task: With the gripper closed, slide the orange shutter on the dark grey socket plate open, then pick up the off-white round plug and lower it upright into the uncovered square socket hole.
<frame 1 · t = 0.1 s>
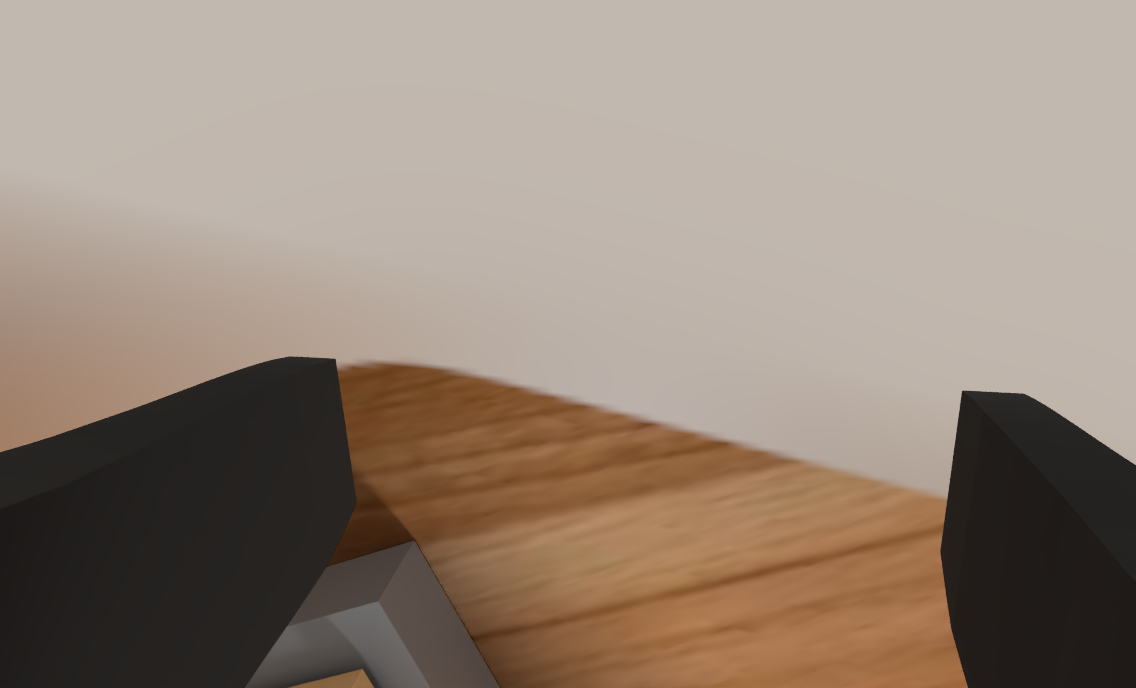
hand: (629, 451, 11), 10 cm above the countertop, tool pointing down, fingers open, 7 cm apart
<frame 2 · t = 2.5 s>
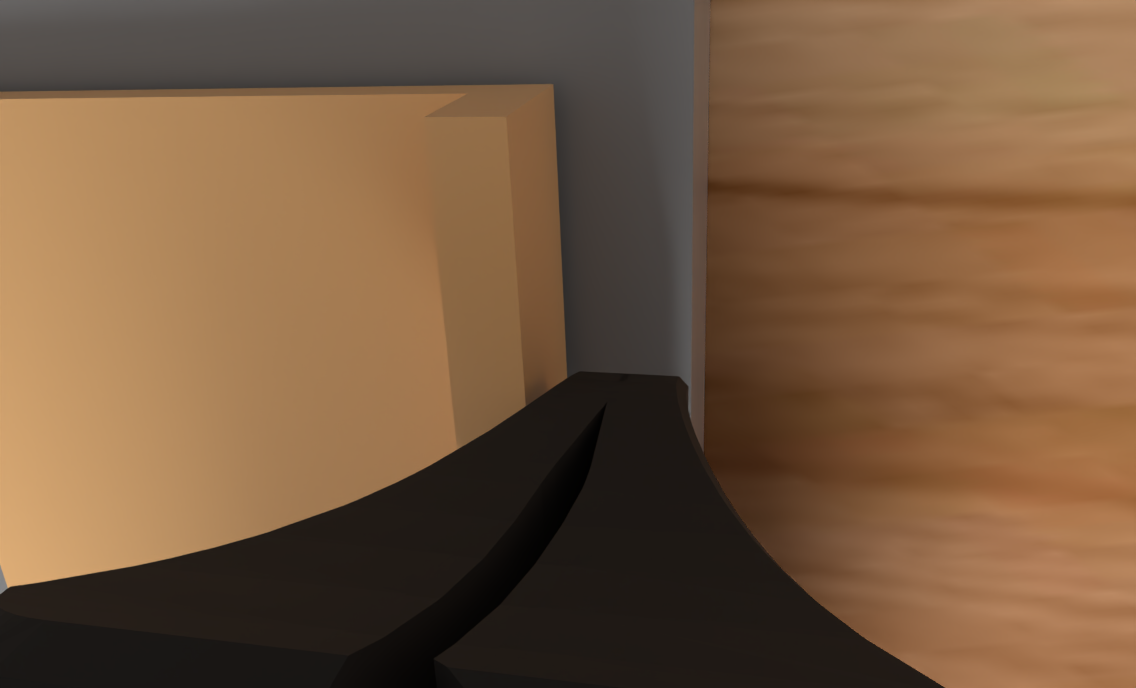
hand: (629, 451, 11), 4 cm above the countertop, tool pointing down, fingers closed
socket plate: (333, 314, 16), on the countertop
shutter: (212, 424, 12), point 4 cm above the countertop, slide at 0.3 cm, touching gripper
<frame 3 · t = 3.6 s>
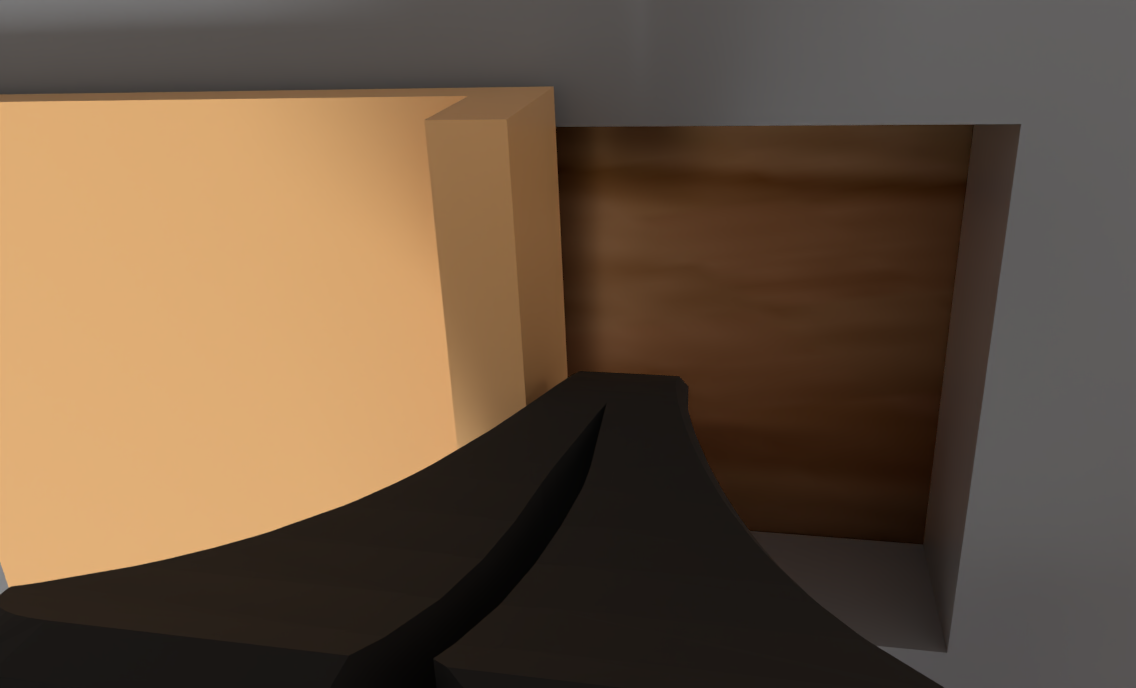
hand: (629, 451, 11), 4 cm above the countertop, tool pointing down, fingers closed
socket plate: (700, 329, 14), on the countertop
shutter: (213, 426, 12), point 4 cm above the countertop, slide at 6.3 cm, touching gripper
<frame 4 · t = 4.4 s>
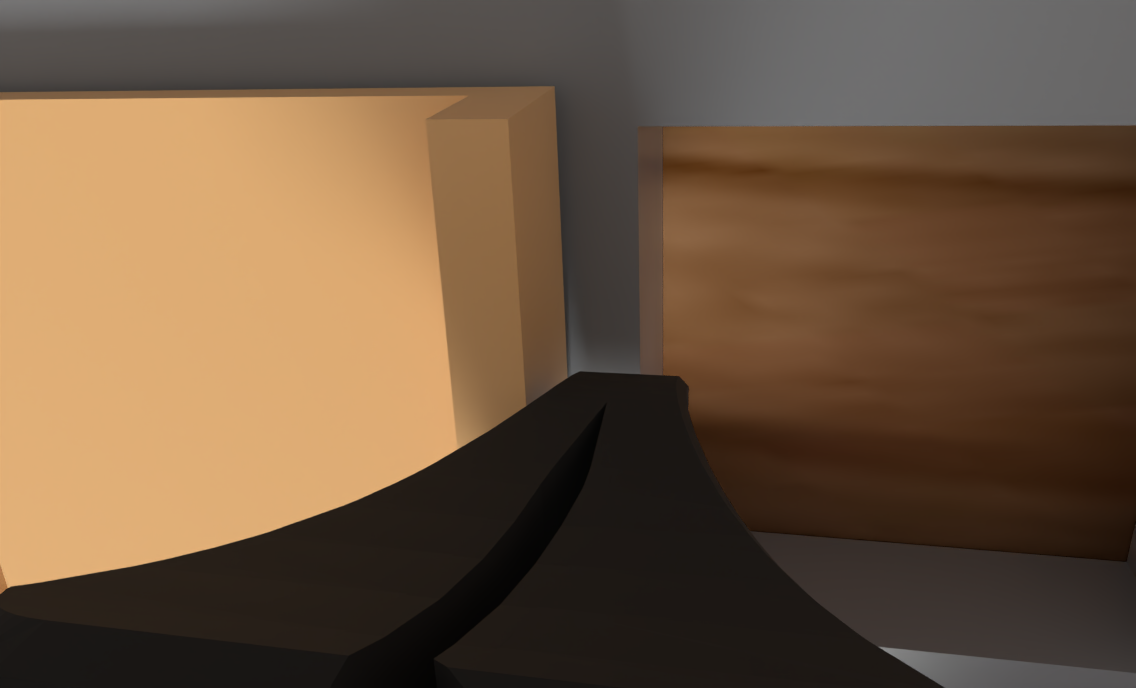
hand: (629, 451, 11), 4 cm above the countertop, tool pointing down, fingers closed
socket plate: (905, 338, 14), on the countertop
shutter: (213, 424, 12), point 4 cm above the countertop, slide at 9.2 cm, touching gripper
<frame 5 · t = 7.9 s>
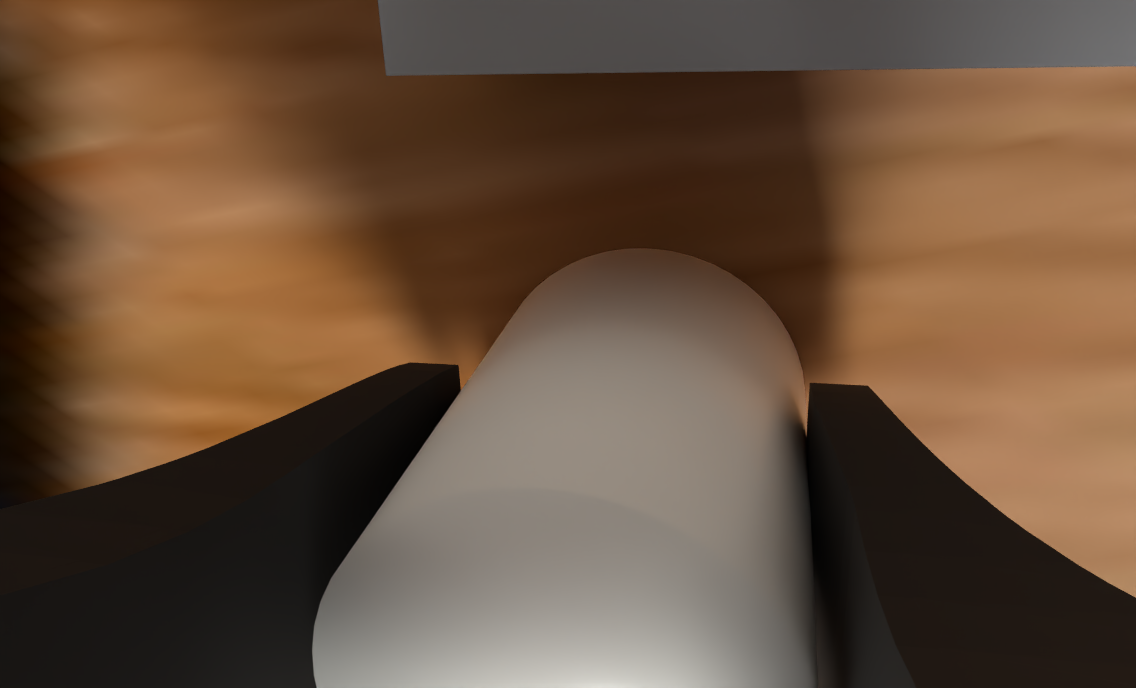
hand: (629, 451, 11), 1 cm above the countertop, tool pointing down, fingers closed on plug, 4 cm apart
plug: (645, 396, 12), on the countertop, touching gripper
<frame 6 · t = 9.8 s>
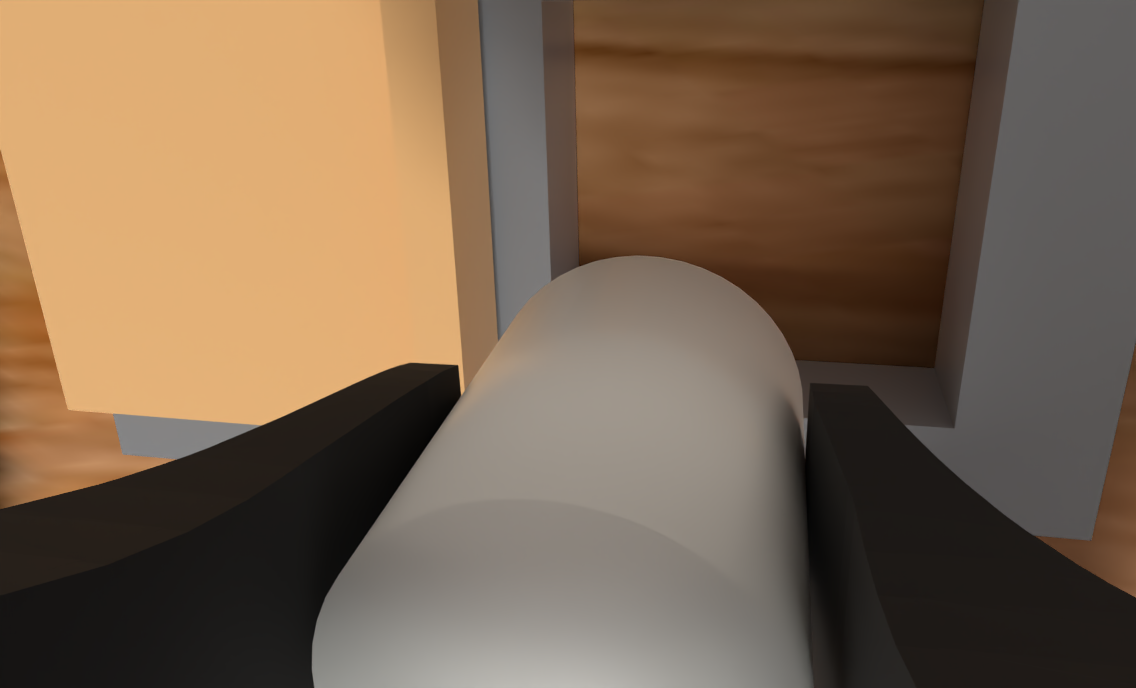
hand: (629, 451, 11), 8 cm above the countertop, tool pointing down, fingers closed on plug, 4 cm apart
plug: (643, 403, 12), point 7 cm above the countertop, touching gripper
socket plate: (760, 186, 18), on the countertop
shutter: (225, 228, 16), point 4 cm above the countertop, slide at 9.2 cm
when the fingers open (3 cm above the countertop, at t = 11.8 s): plug drops 1 cm, resting in socket plate.
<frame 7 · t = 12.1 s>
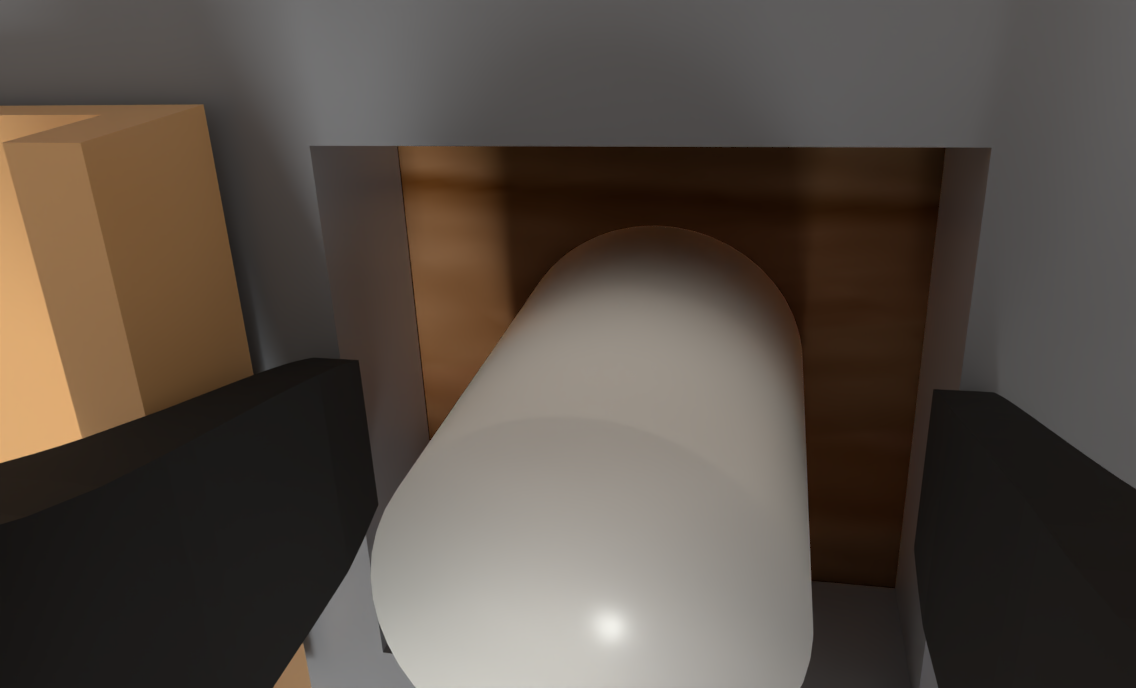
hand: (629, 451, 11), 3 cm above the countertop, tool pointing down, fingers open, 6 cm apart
plug: (656, 363, 14), resting in socket plate
socket plate: (656, 359, 13), on the countertop
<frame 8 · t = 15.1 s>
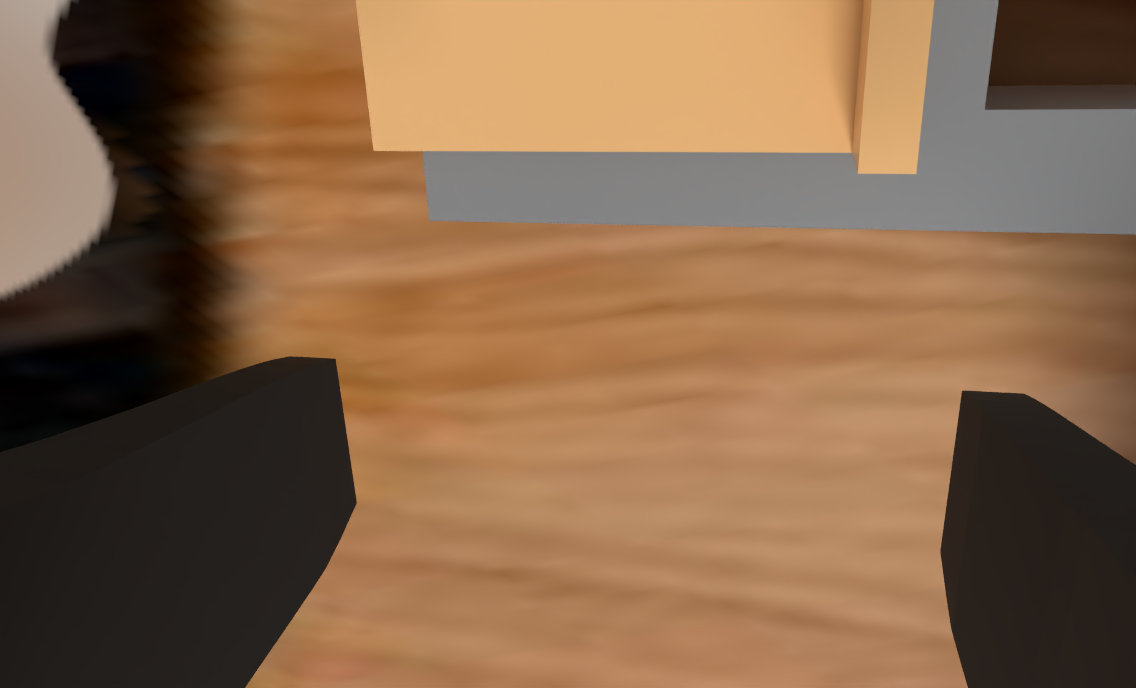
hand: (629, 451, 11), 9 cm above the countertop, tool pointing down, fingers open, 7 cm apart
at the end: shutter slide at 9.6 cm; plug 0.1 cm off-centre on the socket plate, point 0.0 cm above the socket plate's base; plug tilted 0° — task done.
